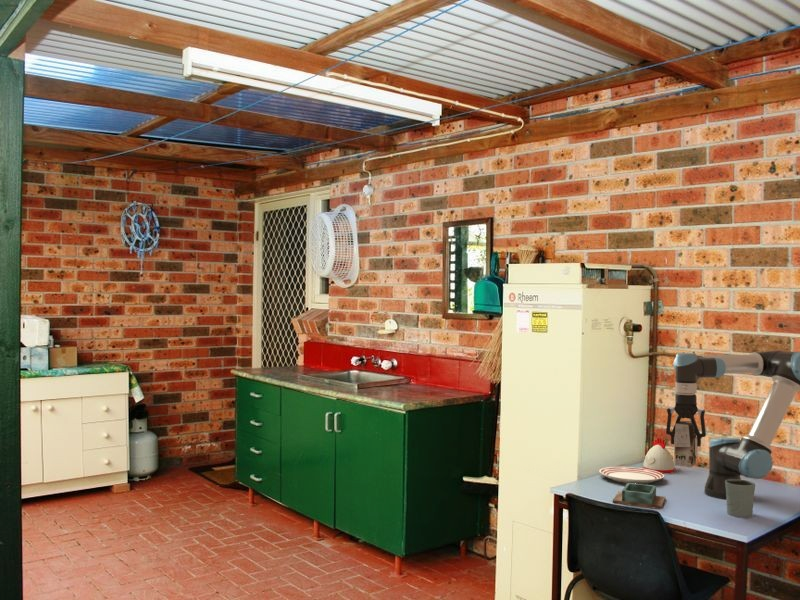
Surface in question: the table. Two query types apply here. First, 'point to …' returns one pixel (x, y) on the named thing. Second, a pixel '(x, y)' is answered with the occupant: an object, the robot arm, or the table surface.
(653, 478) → the dinner plate
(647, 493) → the holder tray
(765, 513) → the table surface
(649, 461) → the kitchen timer
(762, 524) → the table surface
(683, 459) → the coffee box
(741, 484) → the grey green cup
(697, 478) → the table surface
